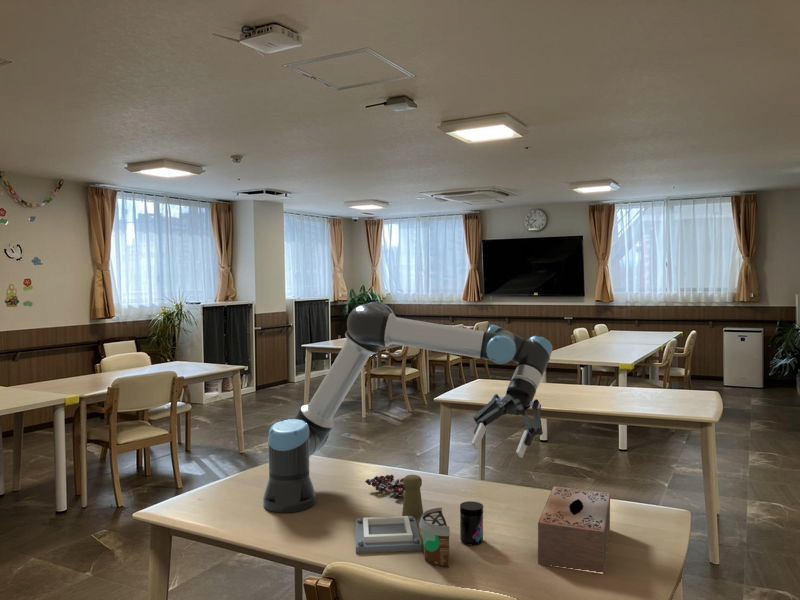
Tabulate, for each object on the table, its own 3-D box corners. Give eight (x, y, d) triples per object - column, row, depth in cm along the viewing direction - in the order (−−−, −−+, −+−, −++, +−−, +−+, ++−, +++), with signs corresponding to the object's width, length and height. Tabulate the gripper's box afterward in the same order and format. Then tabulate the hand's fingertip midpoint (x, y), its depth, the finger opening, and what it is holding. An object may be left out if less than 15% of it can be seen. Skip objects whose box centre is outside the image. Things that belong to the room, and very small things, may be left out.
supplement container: (469, 548, 149) (469, 511, 149) (455, 539, 154) (455, 504, 154) (488, 542, 152) (488, 507, 152) (473, 534, 157) (473, 499, 157)
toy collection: (357, 490, 186) (359, 476, 186) (381, 480, 199) (384, 466, 198) (399, 506, 179) (401, 491, 179) (421, 495, 191) (424, 480, 191)
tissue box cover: (603, 576, 136) (604, 532, 135) (537, 565, 141) (538, 522, 141) (609, 530, 160) (610, 492, 159) (553, 522, 165) (553, 486, 165)
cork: (421, 519, 167) (421, 480, 166) (399, 518, 168) (399, 478, 167) (425, 511, 173) (425, 473, 172) (404, 509, 174) (403, 471, 173)
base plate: (355, 525, 163) (355, 514, 163) (415, 523, 164) (414, 512, 164) (355, 553, 147) (355, 540, 147) (421, 550, 148) (421, 538, 148)
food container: (416, 547, 150) (416, 507, 149) (441, 546, 150) (441, 506, 150) (422, 572, 138) (422, 528, 137) (450, 570, 138) (449, 527, 138)
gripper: (569, 398, 165) (544, 466, 155) (490, 388, 181) (462, 449, 171) (561, 381, 161) (534, 450, 150) (480, 372, 177) (451, 435, 166)
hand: (496, 450), depth 160 cm, fingers open, 13 cm apart
